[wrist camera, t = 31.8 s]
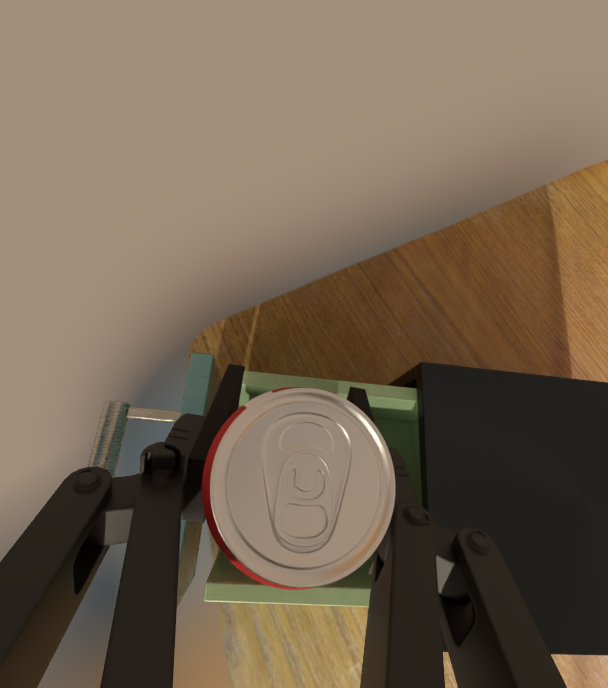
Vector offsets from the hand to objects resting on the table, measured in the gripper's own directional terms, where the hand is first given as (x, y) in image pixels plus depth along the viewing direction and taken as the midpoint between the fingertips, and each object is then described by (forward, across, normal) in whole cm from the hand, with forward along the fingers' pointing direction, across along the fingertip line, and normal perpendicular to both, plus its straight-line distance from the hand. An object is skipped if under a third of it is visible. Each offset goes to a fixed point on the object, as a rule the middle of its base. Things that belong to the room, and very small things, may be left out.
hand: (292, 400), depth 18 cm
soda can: (0, 0, -5) cm, 5 cm away
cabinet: (+6, +16, -9) cm, 20 cm away
